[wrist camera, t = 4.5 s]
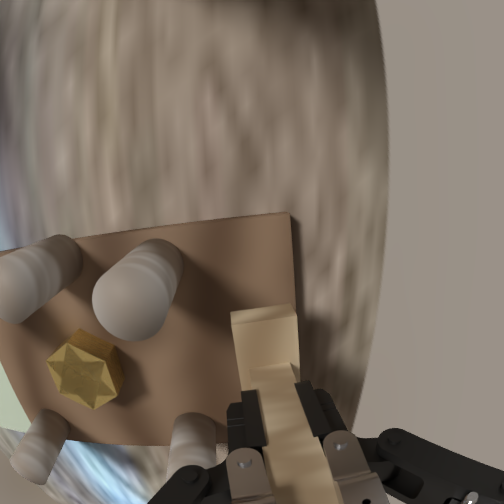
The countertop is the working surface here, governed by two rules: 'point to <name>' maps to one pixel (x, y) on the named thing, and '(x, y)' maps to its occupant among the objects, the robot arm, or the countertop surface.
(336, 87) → the countertop surface
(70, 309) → the board
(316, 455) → the light wood t-shaped block
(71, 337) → the gold star hexagon
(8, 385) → the green pad
